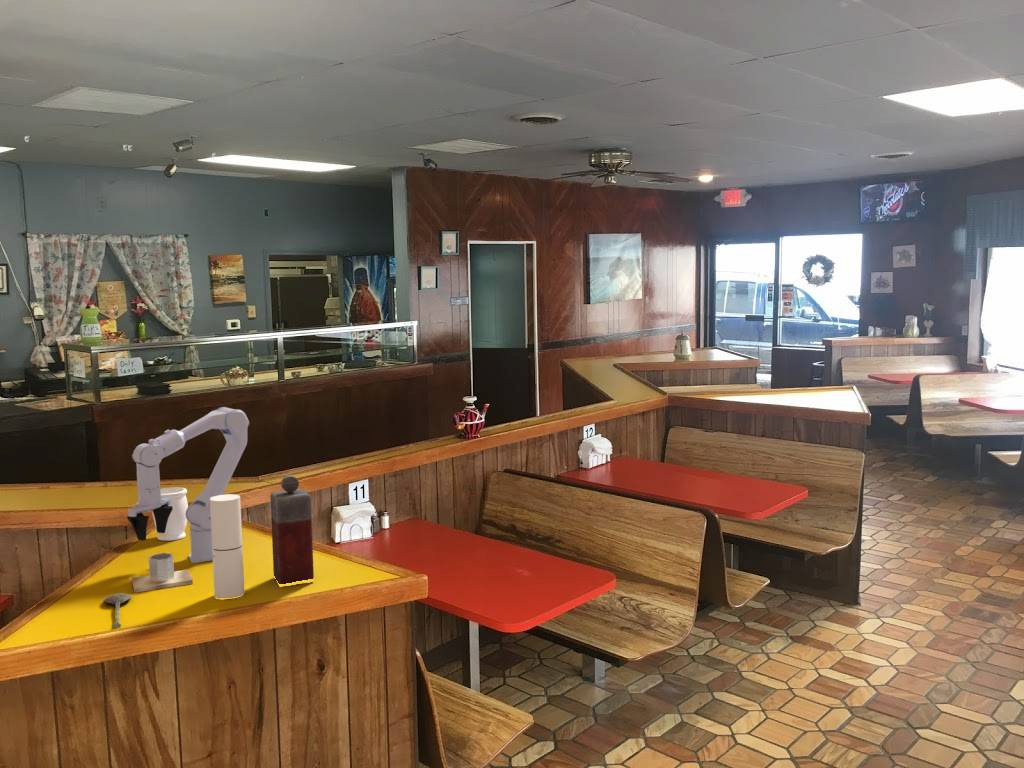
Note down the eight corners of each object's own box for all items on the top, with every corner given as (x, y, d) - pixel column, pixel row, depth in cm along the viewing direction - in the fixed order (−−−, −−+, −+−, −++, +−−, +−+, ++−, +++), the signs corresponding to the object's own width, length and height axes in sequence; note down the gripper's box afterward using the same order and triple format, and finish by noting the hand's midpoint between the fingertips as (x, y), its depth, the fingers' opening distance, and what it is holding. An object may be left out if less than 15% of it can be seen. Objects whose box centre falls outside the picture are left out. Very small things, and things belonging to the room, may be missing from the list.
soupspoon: (133, 600, 217) (104, 605, 215) (131, 586, 217) (103, 592, 215) (132, 626, 197) (100, 633, 195) (130, 612, 197) (98, 618, 194)
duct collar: (160, 574, 231) (159, 552, 230) (178, 576, 229) (177, 554, 228) (145, 581, 225) (143, 558, 224) (163, 583, 223) (162, 560, 223)
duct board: (187, 573, 235) (187, 555, 234) (192, 583, 226) (191, 565, 225) (131, 581, 228) (130, 562, 228) (134, 592, 219) (133, 573, 219)
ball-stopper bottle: (305, 570, 236) (301, 469, 233) (314, 582, 226) (310, 477, 223) (272, 575, 232) (267, 472, 229) (279, 587, 222) (274, 480, 219)
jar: (196, 536, 272) (194, 489, 270) (168, 544, 263) (165, 495, 261) (175, 531, 277) (172, 485, 276) (146, 539, 269) (143, 491, 267)
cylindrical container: (227, 602, 212) (223, 502, 209) (208, 597, 215) (203, 498, 213) (250, 593, 218) (246, 496, 215) (231, 588, 222) (226, 493, 219)
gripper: (155, 481, 244) (157, 528, 245) (117, 492, 230) (120, 542, 231) (176, 482, 242) (178, 530, 243) (139, 494, 228) (142, 544, 229)
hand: (151, 536), depth 237 cm, fingers open, 7 cm apart
